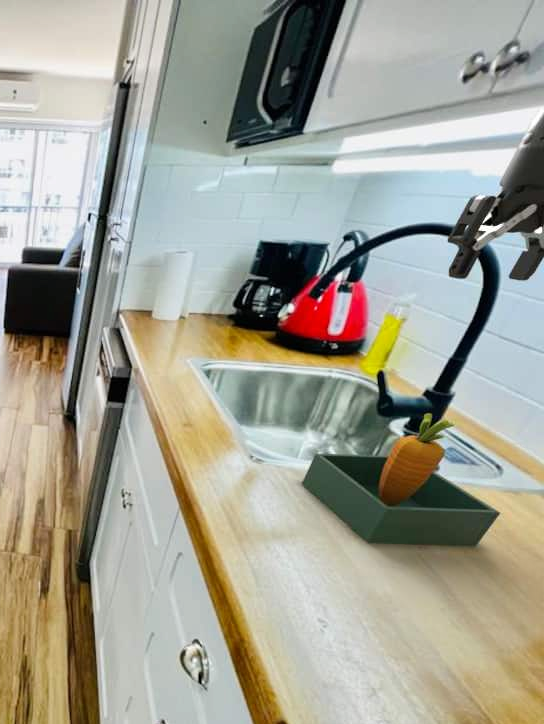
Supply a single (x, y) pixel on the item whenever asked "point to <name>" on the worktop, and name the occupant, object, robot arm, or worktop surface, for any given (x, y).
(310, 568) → the worktop surface
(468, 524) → the dark green tray
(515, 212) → the robot arm
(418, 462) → the carrot
